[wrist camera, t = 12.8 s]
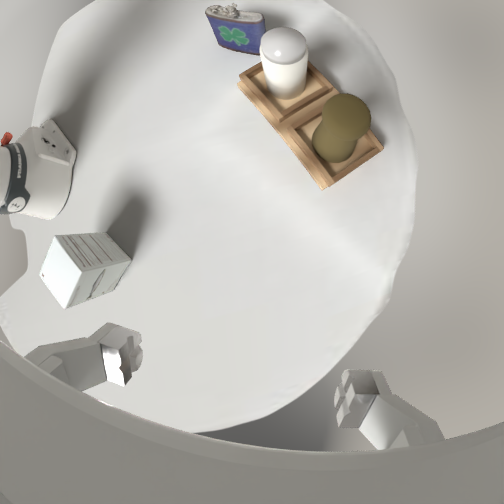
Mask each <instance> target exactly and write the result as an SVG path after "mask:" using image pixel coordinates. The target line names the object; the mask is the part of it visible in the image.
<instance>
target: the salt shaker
mask: <svg viewBox="0 0 504 504" xmlns="http://www.w3.org/2000/svg"><path fill="white" fill-rule="evenodd" d="M259 50H260V56H261V61H262V66H263V71H264V76H265V81H266V86H267V89H268V91H269V92H270V94H272V95H273V96H274V97H276V98H278V99H283V100H291V99H294V98H297V97H299V96H300V95H301V94H302V93H303V92H304V90H305V85H306V74H307V62H308V47H307V44H306V39H305V37H304V36H303V35H302V34H301V33H300V32H299V31H297V30H295V29H292V28H287V27H278V28H274V29H271V30H269V31H267V32H266V33H265V34H264V35H263V36H262V38H261V45H260V49H259Z"/></svg>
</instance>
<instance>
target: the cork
mask: <svg viewBox="0 0 504 504" xmlns="http://www.w3.org/2000/svg"><path fill="white" fill-rule="evenodd" d="M370 123H371V115H370V111H369V109H368V107H367V105H366V104H365V103H364V102H363V101H362V100H361V99H359V98H358V97H356V96H354V95H350V94H337V95H334V96H332V97H331V98H330V99H328V100H327V101H326V103H325V104H324V106H323V110H322V121H321V122H320V124H319V125H318V126H317V128H316V129H315V131H314V132H313V135H312V146H313V149H314V151H315V153H316V154H317V155H318V156H319V157H320V158H322V159H323V160H325V161H327V162H331V163H341V162H344V161H346V160H347V159H349V158H350V157H351V155H352V154H353V152H354V150H355V147H356V144H357V140H358V139H359V138H361V137H362V136H363V135H365V134H366V133H367V131H368V129H369V128H370Z"/></svg>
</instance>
